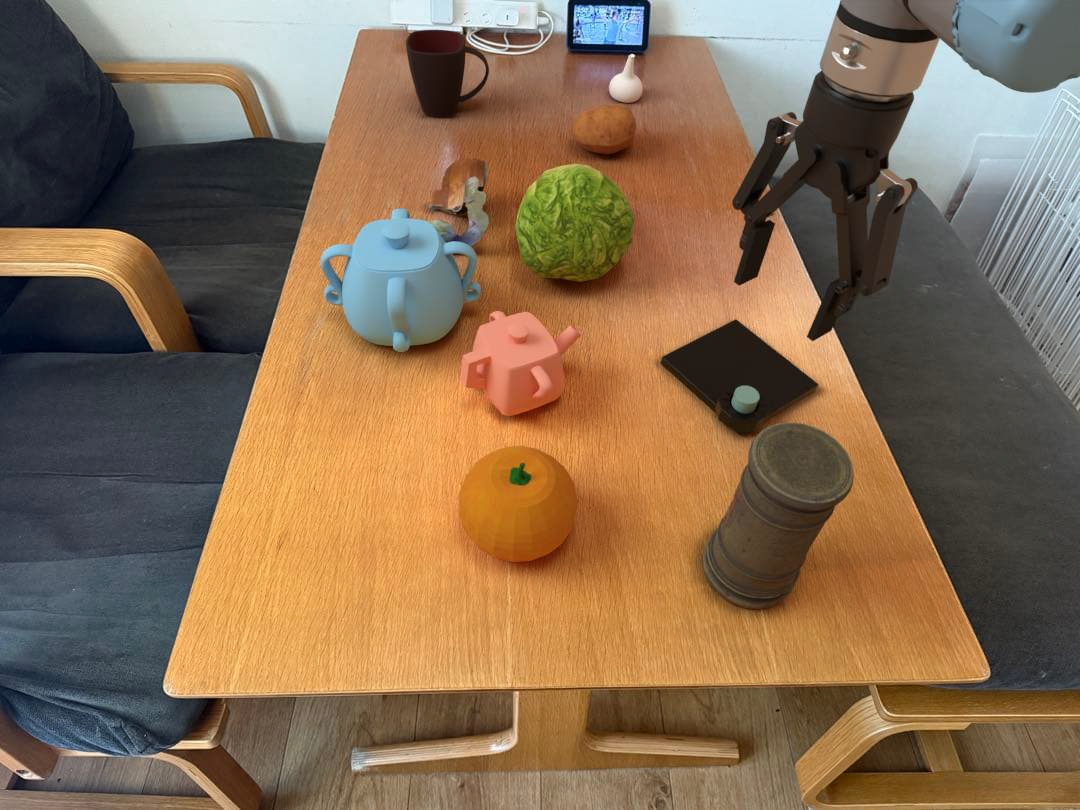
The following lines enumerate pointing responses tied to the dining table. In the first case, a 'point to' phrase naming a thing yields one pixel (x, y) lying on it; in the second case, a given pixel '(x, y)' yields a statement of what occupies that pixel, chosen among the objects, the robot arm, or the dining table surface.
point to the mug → (440, 70)
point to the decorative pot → (401, 282)
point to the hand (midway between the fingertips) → (781, 305)
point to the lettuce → (573, 224)
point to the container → (776, 514)
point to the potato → (604, 128)
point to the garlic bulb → (626, 84)
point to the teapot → (517, 362)
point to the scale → (738, 375)
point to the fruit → (518, 503)
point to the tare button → (745, 399)
